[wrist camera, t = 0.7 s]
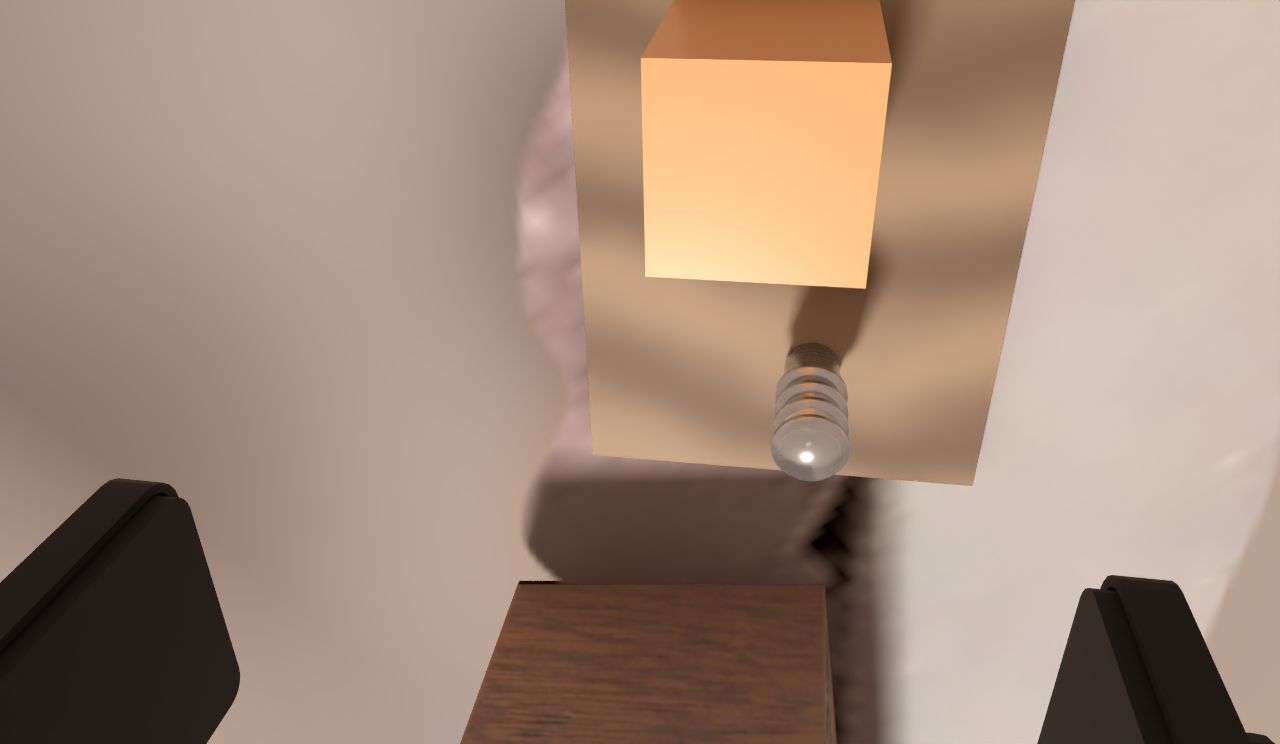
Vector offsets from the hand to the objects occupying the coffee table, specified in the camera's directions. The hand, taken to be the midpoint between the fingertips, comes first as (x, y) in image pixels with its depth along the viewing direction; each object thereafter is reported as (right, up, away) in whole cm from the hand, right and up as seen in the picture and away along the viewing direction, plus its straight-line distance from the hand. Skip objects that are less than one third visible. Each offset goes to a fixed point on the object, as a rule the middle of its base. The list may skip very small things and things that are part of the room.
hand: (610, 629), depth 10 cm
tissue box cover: (+4, -18, +42) cm, 46 cm away
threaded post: (+7, +3, +26) cm, 27 cm away
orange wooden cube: (+4, +11, +21) cm, 24 cm away
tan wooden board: (+6, +8, +24) cm, 26 cm away
